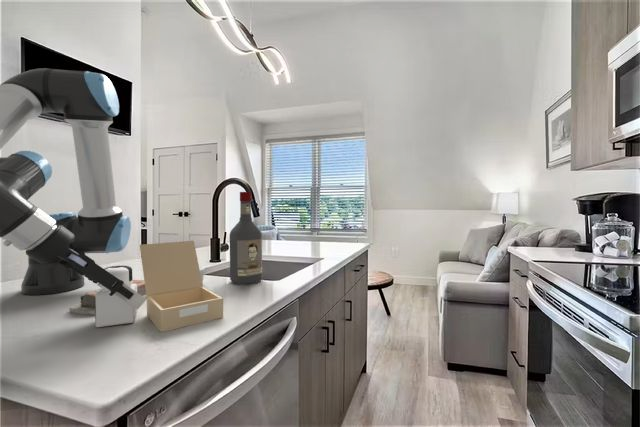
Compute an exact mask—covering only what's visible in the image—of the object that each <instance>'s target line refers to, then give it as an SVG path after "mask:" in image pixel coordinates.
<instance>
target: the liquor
mask: <svg viewBox="0 0 640 427" xmlns="http://www.w3.org/2000/svg"><path fill="white" fill-rule="evenodd" d="M251 202H252V192H251V191H240V192H239V203H240V204H239V205H240V206H239V207H240V213H239V214H240V217H239V221H238V222H237V223H236V224H235V226H234V227H233V228H232V229H231V230H230V233H229V280H230V281H231V283H233V284H236V285H243V286H245V285H247V286H248V285H252V284H257V283H260V282H261V281H262V279H263V234H262V230H261V229H260V228H259V227H258V226H257V224H255V222H253V221H254V220H253V218H252V205H251V204H252V203H251Z"/></svg>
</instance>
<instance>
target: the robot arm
mask: <svg viewBox="0 0 640 427" xmlns="http://www.w3.org/2000/svg"><path fill="white" fill-rule="evenodd" d="M46 113H47V114H49V113H56V114H63V118H64V119H63V120H64V121H65V122H66V123H67V124H69V125H70V126H71V128H72V136H73V142H74V144H73V145H74V151H75V158H76V166H77V172H78V178H79V179H78V181H79V187H80V196H81V201H82V202H81V203H82V208H80V210H79V211H78V212H77V213H76V212H74V211H71V212H69V211H68V212H61V213H52V214H51V213H50V214H48V213H46V212H45V211H44V210H42V209H41V208H39V207H38V206H36V205H34V204H33V203H32V202H31V201H29V199H30V198H32V197H33V195H35V194H36V193H37V192H38V191H39V190H40V189H42V188H43V187H44V186H45V185H46V184H47V182H48V181H49V179H51V177H52V175H53V169H52V168H53V167H52V165H51V163H50V162H49V160H48V159H47V158H46V157H44V156H43V155H41V154H39V153H37V152H34V151H31V150H20V151H18V152H17V151H16V152H15V153H11V154H10V155H8V156H7V157H3V156H2V157H0V238H1V239H2V240H5V241H3V243H2V245H3V246H5V247H9V246H11V245H12V246H13V247H14V248H16V249H17V250H20V251H25V254H26V256H27V258H28V260H27V261H28V267H27V269H26V271H25V272H26V273H25V274H24V278H23V280H22V283H21V286H20V288H21V289H20V290H21V291H20V292H21V294H23V295H27V296H31V295H33V296H35V295H36V296H38V295H40V296H41V295H48V294H49V295H50V294H56V293H63V292H69V291H72V290H76V289H80V288H82V287H84V286H85V285H86V284H85V278H86V279H87V280H89V281H91V282H92V283H93V284H96V285H97V286H99V287H100V289H101V288H102V287H101V285H102V286H104V287H106V288H107V289H109V290H110V292H111V293H110V294H109V295H110V296H113V294H114V295H116V296H117V297H119V298H120V299H122V300H123V301H125V302H127V303H128V304H130V305H131V306H133V307H134V308H136V309H137V310H139V309H140V308H141V307H142V306H143V304H145V302H146V301H147V298H144V297H143V296H142V295H140V294H139V293H137V292H136V291H134V290H133V289H132V288H130V287H129V286H127V285H126V284H124V282H123V281H122V280H119V279H118V278H116V277H115V276H113V275H112V274H110V273H109V272H108V271H106V270H105V268H103V267H101V266H100V265H99V264H97V263H96V262H95V260H94V259H92V258H91V257H90V256H88V255H87V254H110V253H119V252H122V251H124V250H125V249H126V247H127V245H128V243H129V240H130V237H131V231H132V230H131V229H132V224H131V220H130V217H129V216H126V215H123V209H122V208H121V207H120V206H118V205H117V200H116V193H115V192H116V191H115V185H114V184H115V183H114V175H113V165H112V164H113V163H112V157H111V156H112V154H111V148H110V138H109V129H108V128H109V127H110V125H112V124H113V123H114V120H113V117H116V116H118V115H119V113H120V102H119V98H118V94H117V91H116V88H115V86H114V85H113V82H112V81H111V80H110V78H108V76H106V75H105V74H103V73H100V72H99V73H98V72H94V71H93V72H92V71H88V70H70V69H57V68H56V69H55V68H47V67H45V68H44V67H43V68H41V67H40V68H35V69H29V70H27V71H23V72H22V73H21V72H20V73H18V74H16V75H14V76H12V77H10V78H8V79H6V80H5V81H4V82H2V83H1V84H0V150H1V149H2V148H4V146H5V145H7V143H8V142H9V141H10V140H11V139H12V138H13V137H14V136H15V135H16V134H17V132H18V131H19V130H20V129H21V128H22V127H23V126H24V125H25V124H26V123H27V122H28V121H29V120H34V119H37V118H39V116H40V115H41V114H46ZM113 285H114V286H113ZM112 286H113V287H112Z"/></svg>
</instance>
